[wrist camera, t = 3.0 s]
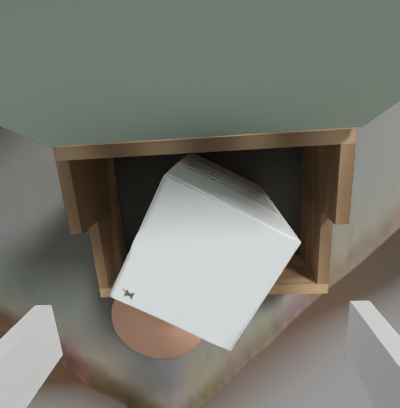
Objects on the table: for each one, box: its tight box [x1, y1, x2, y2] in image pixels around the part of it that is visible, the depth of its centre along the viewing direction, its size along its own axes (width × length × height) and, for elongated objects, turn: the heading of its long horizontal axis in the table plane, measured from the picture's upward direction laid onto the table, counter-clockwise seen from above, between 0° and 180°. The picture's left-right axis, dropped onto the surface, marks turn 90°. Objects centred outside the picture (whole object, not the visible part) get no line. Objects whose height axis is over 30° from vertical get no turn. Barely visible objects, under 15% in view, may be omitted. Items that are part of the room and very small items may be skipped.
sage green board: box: [0, 0, 400, 147], centre depth 12 cm, size 22×15×1 cm
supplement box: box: [110, 153, 301, 351], centre depth 24 cm, size 9×9×15 cm
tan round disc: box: [111, 299, 202, 359], centre depth 35 cm, size 12×12×1 cm
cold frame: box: [53, 128, 357, 297], centre depth 26 cm, size 22×15×9 cm
